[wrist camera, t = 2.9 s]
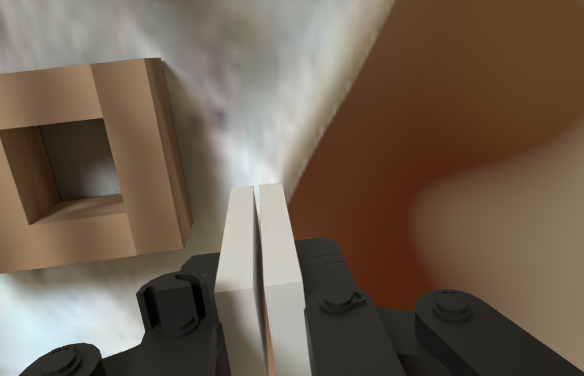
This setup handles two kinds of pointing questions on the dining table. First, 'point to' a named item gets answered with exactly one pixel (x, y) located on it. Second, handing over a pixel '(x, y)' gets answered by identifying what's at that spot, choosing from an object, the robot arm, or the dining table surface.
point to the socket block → (126, 154)
